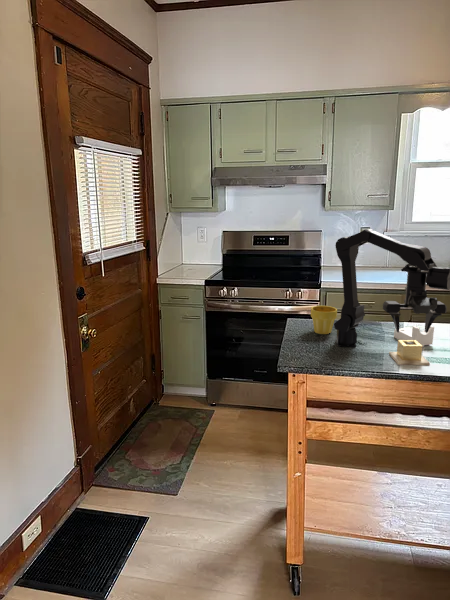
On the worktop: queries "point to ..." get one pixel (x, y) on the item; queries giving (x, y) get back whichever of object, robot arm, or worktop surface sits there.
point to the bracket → (415, 335)
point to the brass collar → (409, 350)
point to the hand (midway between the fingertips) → (411, 332)
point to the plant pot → (323, 318)
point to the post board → (408, 362)
